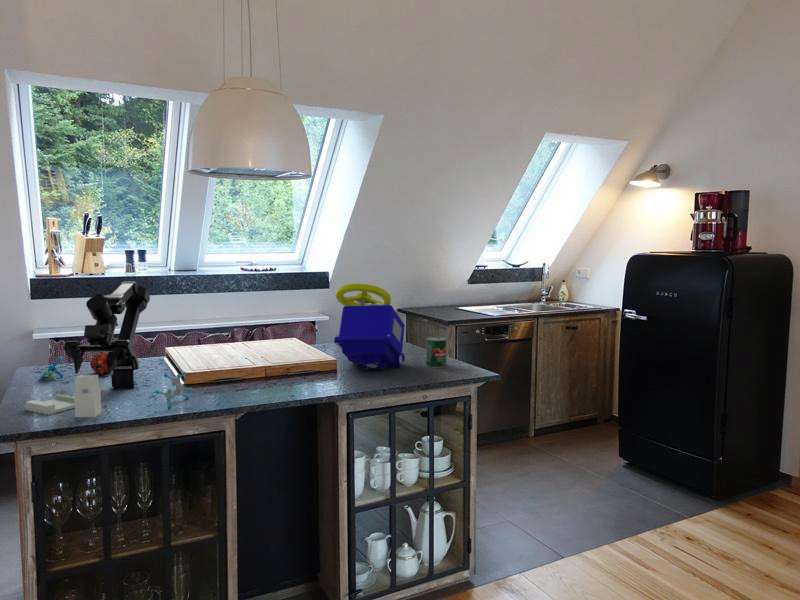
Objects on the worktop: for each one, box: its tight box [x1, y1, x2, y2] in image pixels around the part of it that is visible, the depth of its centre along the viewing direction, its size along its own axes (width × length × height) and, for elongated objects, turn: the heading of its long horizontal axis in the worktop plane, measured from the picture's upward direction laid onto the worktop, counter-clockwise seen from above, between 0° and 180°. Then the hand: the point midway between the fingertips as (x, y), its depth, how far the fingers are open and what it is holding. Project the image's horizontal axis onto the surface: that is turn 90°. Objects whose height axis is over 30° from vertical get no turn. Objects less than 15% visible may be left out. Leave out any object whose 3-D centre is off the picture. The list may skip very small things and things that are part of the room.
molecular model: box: [154, 371, 194, 409], centre depth 190 cm, size 12×14×15 cm
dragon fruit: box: [89, 352, 113, 376], centre depth 226 cm, size 8×8×12 cm
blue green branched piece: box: [39, 356, 65, 381], centre depth 219 cm, size 11×6×10 cm
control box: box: [333, 282, 406, 371], centre depth 239 cm, size 26×27×30 cm
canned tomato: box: [425, 336, 447, 369], centre depth 242 cm, size 8×8×11 cm
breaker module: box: [73, 374, 102, 418], centre depth 176 cm, size 5×6×12 cm
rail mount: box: [24, 393, 75, 416], centre depth 186 cm, size 16×11×2 cm
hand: (92, 372), depth 180 cm, fingers open, 9 cm apart
